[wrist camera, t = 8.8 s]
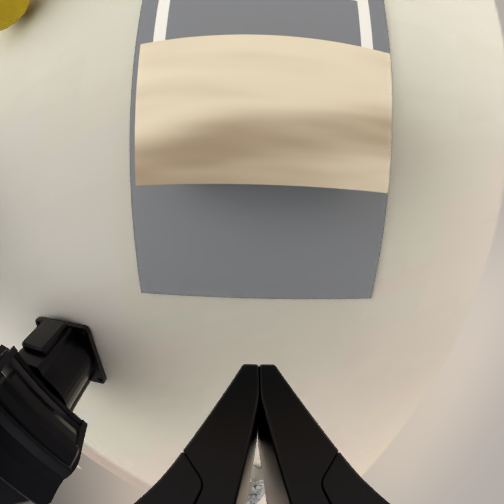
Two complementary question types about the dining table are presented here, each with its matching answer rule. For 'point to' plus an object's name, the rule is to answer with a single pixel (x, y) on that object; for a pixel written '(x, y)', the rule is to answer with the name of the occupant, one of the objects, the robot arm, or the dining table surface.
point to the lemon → (12, 11)
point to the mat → (257, 195)
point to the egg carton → (255, 486)
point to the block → (263, 112)
